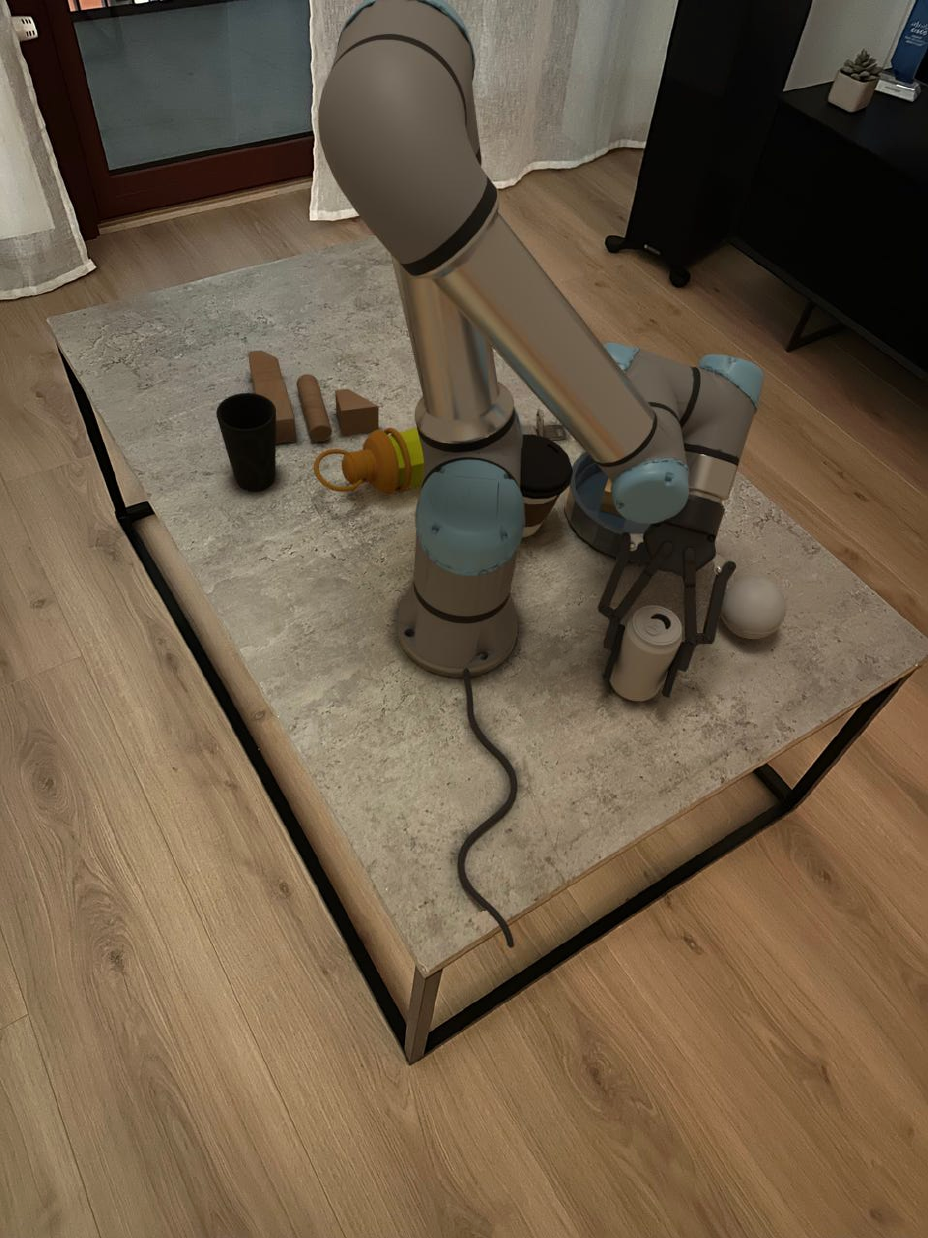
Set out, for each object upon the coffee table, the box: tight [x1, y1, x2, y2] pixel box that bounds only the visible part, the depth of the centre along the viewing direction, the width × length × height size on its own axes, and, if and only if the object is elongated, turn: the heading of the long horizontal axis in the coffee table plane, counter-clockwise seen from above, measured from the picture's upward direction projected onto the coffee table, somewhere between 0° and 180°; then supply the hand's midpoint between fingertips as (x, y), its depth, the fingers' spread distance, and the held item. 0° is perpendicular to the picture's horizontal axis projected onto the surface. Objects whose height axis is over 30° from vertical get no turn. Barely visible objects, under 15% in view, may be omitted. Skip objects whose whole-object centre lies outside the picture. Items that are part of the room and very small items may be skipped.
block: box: [599, 479, 623, 517], centre depth 127 cm, size 4×4×4 cm
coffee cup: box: [520, 434, 573, 538], centre depth 121 cm, size 11×11×12 cm
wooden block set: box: [247, 349, 380, 445], centre depth 136 cm, size 17×6×18 cm
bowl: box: [563, 451, 650, 563], centre depth 127 cm, size 20×20×5 cm
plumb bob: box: [313, 427, 424, 496], centre depth 126 cm, size 9×9×25 cm
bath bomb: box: [720, 576, 787, 640], centre depth 115 cm, size 8×8×8 cm
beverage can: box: [609, 604, 683, 702], centre depth 106 cm, size 6×6×12 cm
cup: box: [215, 392, 277, 493], centre depth 123 cm, size 8×8×12 cm
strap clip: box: [521, 408, 567, 441], centre depth 136 cm, size 8×3×4 cm, turn 100°
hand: (635, 686), depth 106 cm, fingers closed on beverage can, 6 cm apart
